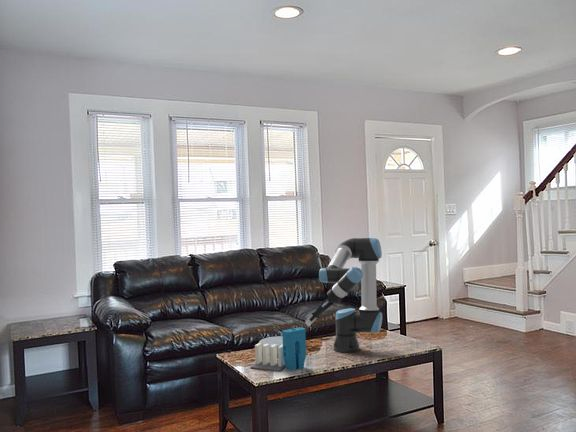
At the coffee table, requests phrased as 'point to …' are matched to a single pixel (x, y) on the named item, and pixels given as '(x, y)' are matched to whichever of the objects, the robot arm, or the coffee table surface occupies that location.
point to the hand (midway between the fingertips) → (307, 324)
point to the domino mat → (268, 366)
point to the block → (289, 341)
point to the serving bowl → (272, 341)
